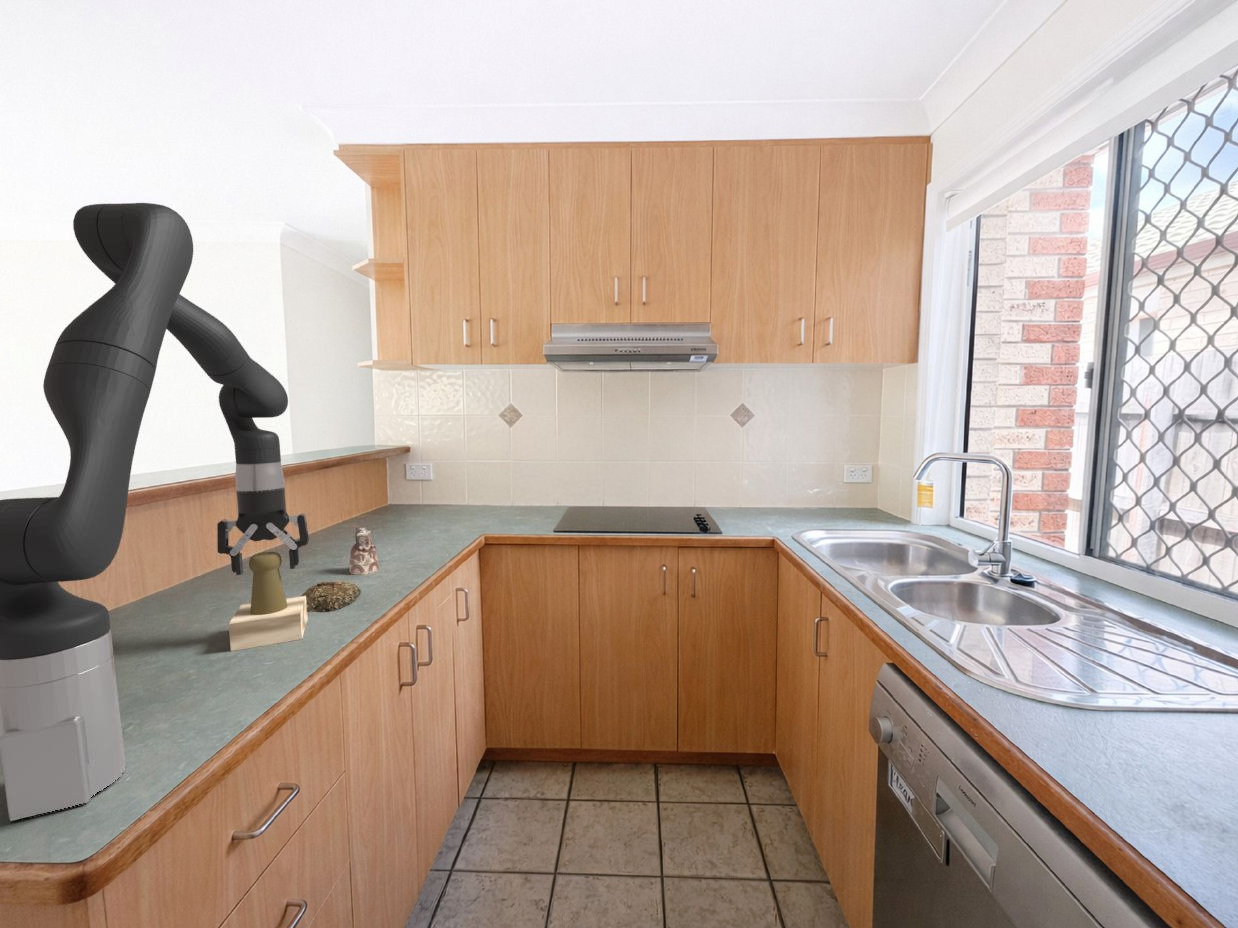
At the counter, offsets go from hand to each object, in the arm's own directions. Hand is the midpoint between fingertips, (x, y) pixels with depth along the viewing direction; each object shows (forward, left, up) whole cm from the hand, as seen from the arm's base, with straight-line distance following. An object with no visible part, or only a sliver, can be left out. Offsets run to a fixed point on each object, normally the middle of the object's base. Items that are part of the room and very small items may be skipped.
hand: (267, 570), depth 101 cm
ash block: (0, 0, -13) cm, 13 cm away
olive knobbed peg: (0, 0, -8) cm, 8 cm away
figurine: (+38, -16, -13) cm, 43 cm away
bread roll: (+15, -8, -13) cm, 22 cm away
